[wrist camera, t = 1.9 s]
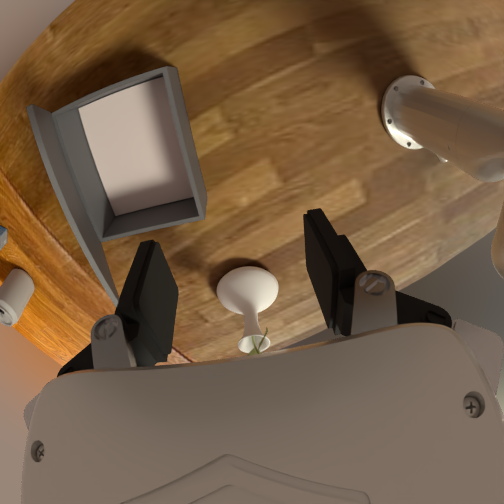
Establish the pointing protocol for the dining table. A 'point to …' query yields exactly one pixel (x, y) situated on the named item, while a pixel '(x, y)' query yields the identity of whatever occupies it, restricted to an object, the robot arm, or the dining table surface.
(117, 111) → the box
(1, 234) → the label tape box
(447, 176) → the dining table surface
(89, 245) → the mailer lid
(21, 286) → the can
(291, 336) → the dining table surface
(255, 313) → the flower in vase
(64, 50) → the dining table surface
